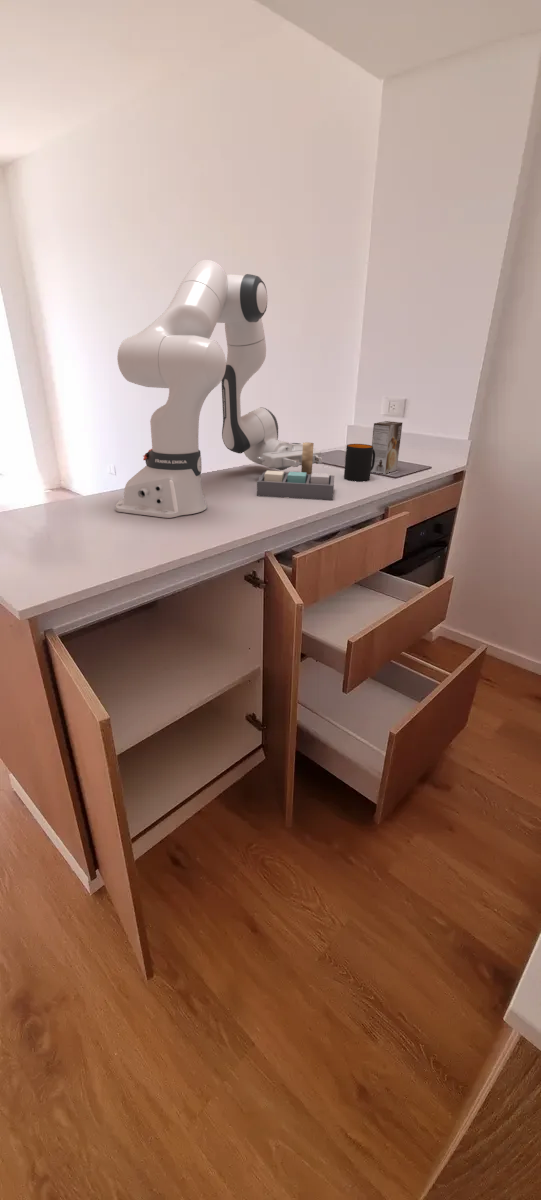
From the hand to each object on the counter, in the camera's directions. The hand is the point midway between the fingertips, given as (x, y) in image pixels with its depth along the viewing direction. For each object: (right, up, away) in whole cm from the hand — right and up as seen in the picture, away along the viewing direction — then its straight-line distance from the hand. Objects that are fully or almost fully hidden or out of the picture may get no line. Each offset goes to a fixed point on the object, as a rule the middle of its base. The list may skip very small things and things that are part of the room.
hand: (308, 462), depth 156 cm
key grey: (+2, -9, -9) cm, 13 cm away
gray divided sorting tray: (-4, -10, -7) cm, 13 cm away
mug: (+18, -2, +13) cm, 22 cm away
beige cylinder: (-1, -6, +3) cm, 7 cm away
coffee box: (+27, +3, +23) cm, 36 cm away
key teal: (-4, -8, -8) cm, 12 cm away
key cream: (-10, -8, -7) cm, 15 cm away
